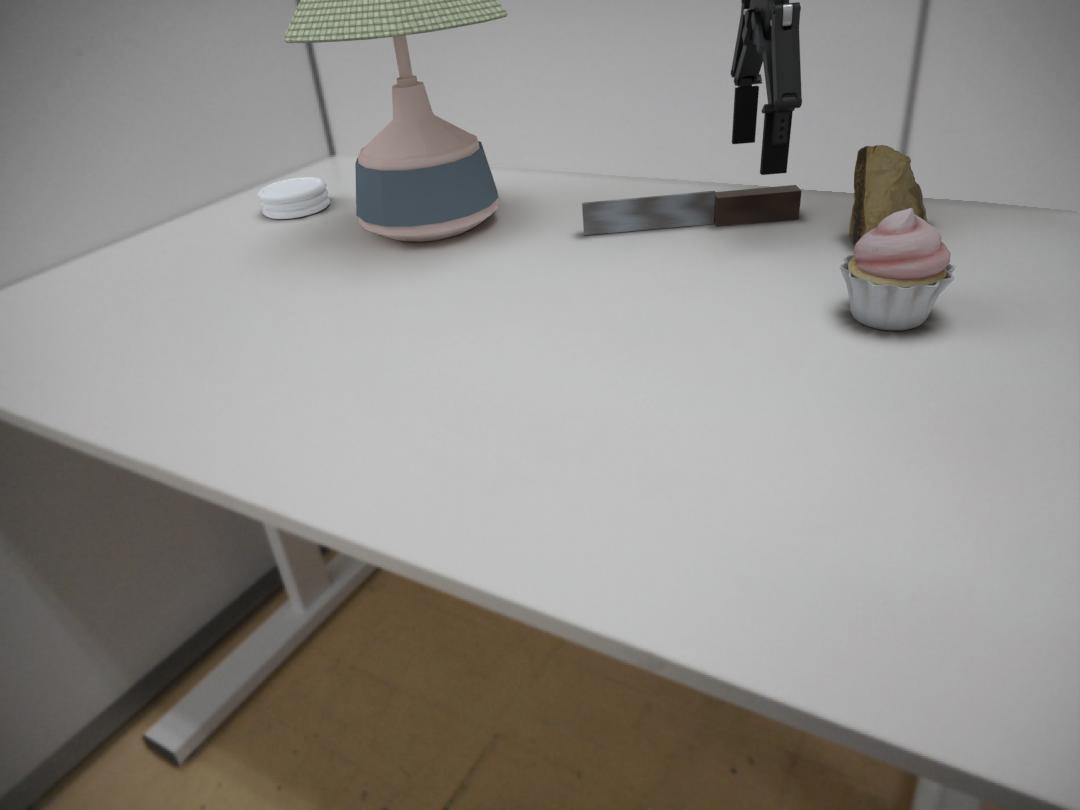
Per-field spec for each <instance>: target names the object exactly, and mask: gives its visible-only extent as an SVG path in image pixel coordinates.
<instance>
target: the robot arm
mask: <svg viewBox="0 0 1080 810" xmlns="http://www.w3.org/2000/svg"><path fill="white" fill-rule="evenodd" d="M740 3H741V5H740V6H741V7H740V16H739V17H740V18H739V24H738V29H737V35H736V41H735V47H734V51H733V52H734V53H733V58H732V62H731V63H732V64H731V68H730V69H731V70H730V76H731V78H733V84H734V86H735V87H734V95H733V96H734V98H733V113H732V114H733V115H732V131H731V144H732V145H743V144H754V143H756V131H757V121H758V120H757V119H758V109H759V108H758V106H759V93H760V86H759V85H761V84H763V79H762V73H761V69H762V66H763V73H764V81H765V89H766V98H767V103H765V104H763V106H762V109H761V114H763V115H764V117H763V129H762V142H761V154H760V165H759V174H760V175H761V176H768V175H769V176H770V175H779V174H787V173H788V172H787V171H788V163H789V162H788V161H789V154H790V142H791V133H792V124H793V123H792V121H793V113H794V111H795V110H796V109H800V108H801V107H802V104H803V98H802V96H803V95H802V72H801V70H802V69H801V45H800V44H801V40H800V20H801V10H802V7H801V3H800V2H799V1H798V2H790V0H740ZM760 73H761V74H760Z"/></svg>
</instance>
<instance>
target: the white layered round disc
mask: <svg viewBox="0 0 1080 810" xmlns="http://www.w3.org/2000/svg"><path fill="white" fill-rule="evenodd" d="M257 198H258V200H259V205H260V207H261V212H262V214H263V215H264V217H266V218H269V219H273V220H289V219H296V218H297V219H298V218H302V217H307V216H311V215H313V214H317V213H319V212H321V211H323V210H324V209H326V208H328V207H329V205H330V202H331V199H330V197H329V191H328V189H327V183H326V181H325V180H324V179H322V178H320V177H314V176H312V177H311V176H306V177H304V176H303V177H293V178H288V179H282V180H278V181H276V182H271V183H270V184H267V185H265V186H263V187H262V188H260V189H259V191H258V192H257Z"/></svg>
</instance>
